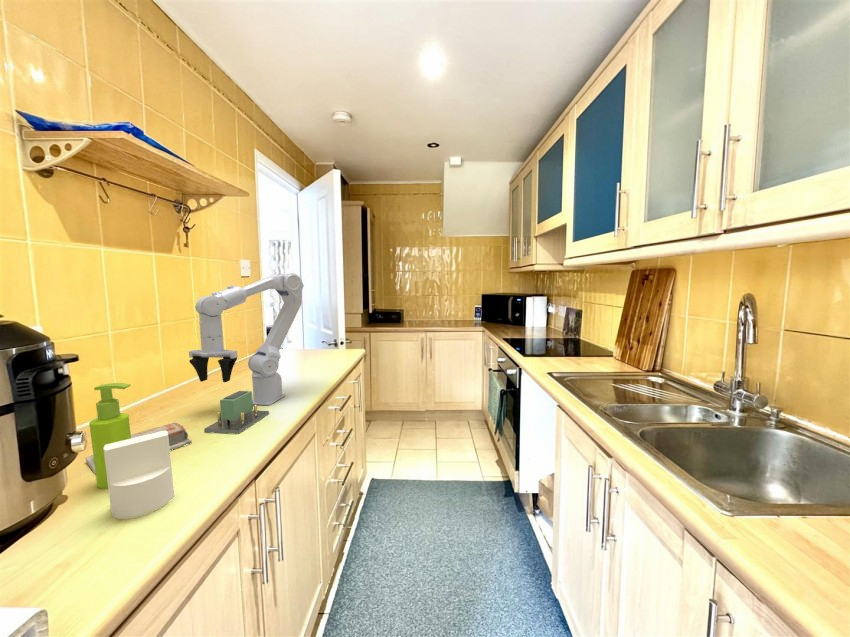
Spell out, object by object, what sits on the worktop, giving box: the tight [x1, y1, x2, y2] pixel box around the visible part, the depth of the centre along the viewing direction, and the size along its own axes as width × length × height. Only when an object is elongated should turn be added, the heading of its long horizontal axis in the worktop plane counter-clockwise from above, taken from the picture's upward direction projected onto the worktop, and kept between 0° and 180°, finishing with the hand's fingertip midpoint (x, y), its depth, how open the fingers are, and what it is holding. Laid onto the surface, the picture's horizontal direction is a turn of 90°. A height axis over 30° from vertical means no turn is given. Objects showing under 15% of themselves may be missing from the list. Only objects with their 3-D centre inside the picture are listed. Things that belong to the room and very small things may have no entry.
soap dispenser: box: [88, 382, 132, 490], centre depth 72 cm, size 6×7×20 cm
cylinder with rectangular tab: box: [104, 430, 175, 520], centre depth 65 cm, size 9×9×12 cm
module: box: [219, 390, 254, 420], centre depth 101 cm, size 8×4×6 cm, turn 172°
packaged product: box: [84, 422, 193, 475], centre depth 85 cm, size 18×5×10 cm
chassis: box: [203, 404, 270, 435], centre depth 101 cm, size 14×10×4 cm
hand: (215, 381), depth 108 cm, fingers open, 7 cm apart
